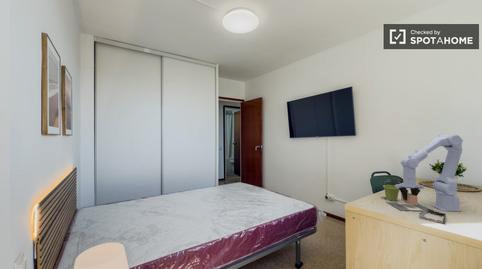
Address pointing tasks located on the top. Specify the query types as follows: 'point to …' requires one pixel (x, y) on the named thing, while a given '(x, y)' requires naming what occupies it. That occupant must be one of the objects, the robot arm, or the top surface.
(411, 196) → the terracotta card box
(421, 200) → the top surface
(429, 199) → the top surface
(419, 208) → the charcoal mat
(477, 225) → the top surface
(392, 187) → the plant pot
